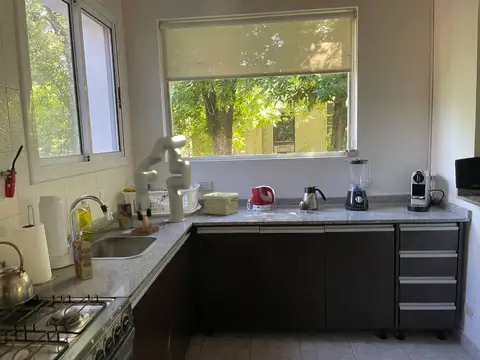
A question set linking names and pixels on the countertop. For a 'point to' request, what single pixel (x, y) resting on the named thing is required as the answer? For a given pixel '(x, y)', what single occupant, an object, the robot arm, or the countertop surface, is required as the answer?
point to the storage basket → (221, 203)
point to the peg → (145, 223)
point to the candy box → (82, 259)
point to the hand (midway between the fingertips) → (144, 218)
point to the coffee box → (125, 215)
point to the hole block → (145, 230)
